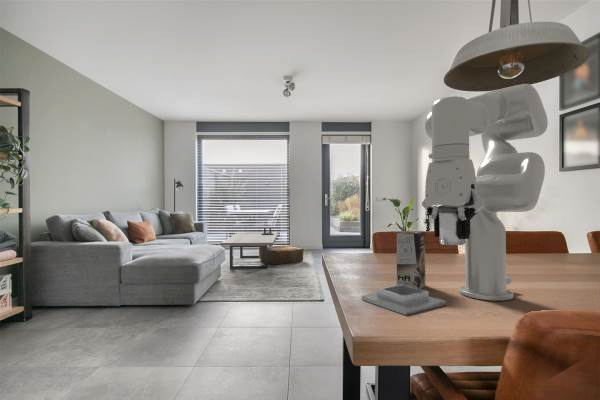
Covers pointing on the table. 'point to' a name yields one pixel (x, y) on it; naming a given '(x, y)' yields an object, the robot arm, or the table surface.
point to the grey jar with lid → (449, 226)
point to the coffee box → (411, 259)
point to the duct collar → (403, 299)
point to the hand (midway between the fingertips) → (451, 236)
